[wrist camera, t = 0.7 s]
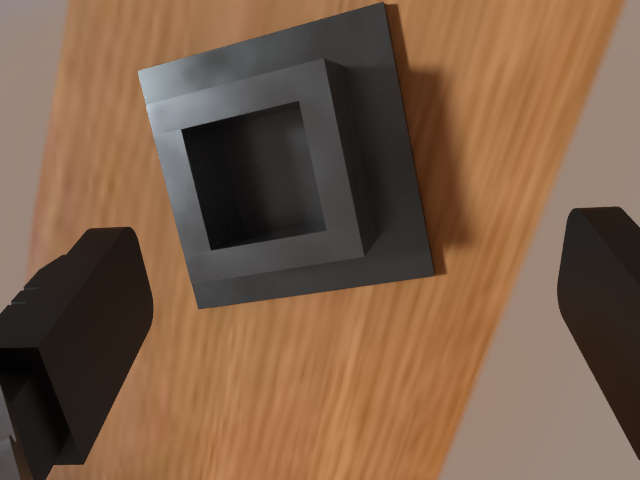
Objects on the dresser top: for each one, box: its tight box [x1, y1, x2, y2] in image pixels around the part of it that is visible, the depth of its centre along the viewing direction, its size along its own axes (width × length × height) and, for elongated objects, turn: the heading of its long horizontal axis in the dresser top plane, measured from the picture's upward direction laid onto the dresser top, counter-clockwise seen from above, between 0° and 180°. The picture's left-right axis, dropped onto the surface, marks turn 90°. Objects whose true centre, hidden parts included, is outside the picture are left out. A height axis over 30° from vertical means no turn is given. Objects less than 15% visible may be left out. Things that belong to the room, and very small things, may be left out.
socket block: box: [138, 2, 435, 309], centre depth 29 cm, size 14×14×5 cm
